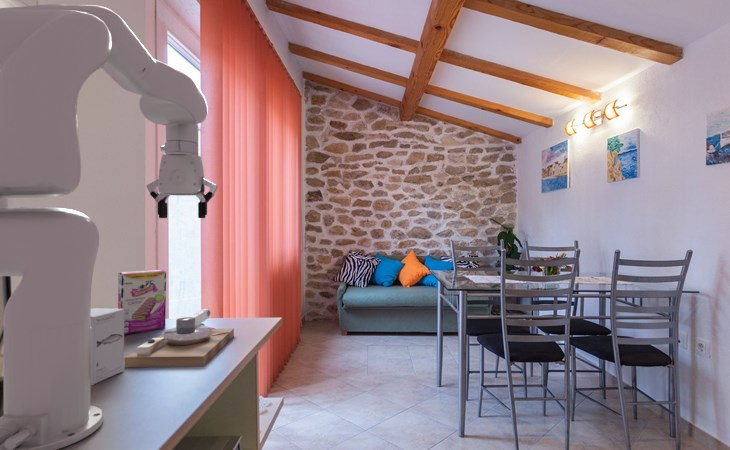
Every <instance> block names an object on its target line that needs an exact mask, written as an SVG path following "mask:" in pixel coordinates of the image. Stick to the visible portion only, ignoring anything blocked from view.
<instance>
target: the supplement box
mask: <svg viewBox="0 0 730 450" xmlns="http://www.w3.org/2000/svg"><path fill="white" fill-rule="evenodd" d="M90 318H91V386H94V385H95V384H98V383H100V382H102V381H105V380H106V379H108V378H111V377H113V376H116V375H117V374H120V373H122V372H124V371H125V367H124V357H125V335H124V309H118V308H108V307H106V308H103V307H94V308H91V317H90Z"/></svg>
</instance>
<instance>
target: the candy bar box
mask: <svg viewBox="0 0 730 450" xmlns="http://www.w3.org/2000/svg"><path fill="white" fill-rule="evenodd" d="M117 276H118V278H117V281H118V283H117V309H124V336H125V335H130V334H136V333H143V332H145V333H146V332H150V331H156V330H163V329H166V313H167V311H166V306H167V305H166V304H167V301H166V300H167V299H166V298H167V296H166V294H167V271H166V270H163V269H153V270H150V269H149V270H138V271H136V270H135V271H121V272H118V275H117Z"/></svg>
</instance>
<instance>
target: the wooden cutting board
mask: <svg viewBox="0 0 730 450" xmlns="http://www.w3.org/2000/svg"><path fill="white" fill-rule="evenodd" d="M233 336H234V337H235V329H234V328H210V338H209V339H208V340H206V341H203V342H200V343H196V344H190V345H169V344H166V343H165V342H164V333H163V334H161V335H159V336H158V337H152V338H150V339H148V341H146V342H144V343H142V344H141V345H139V346H137V348H136V350H134V351H133V352H131V353H130V354H128V355H127V356H124V368H153V367H156V368H161V367H163V368H164V367H165V368H166V367H169V368H170V367H205V365H206V364H207V363H209V362H210V360H211V359H212V358H213V357H215V355H217V353H218V352H219V351H221V350H222V348H224V346H226V344H228V343H229V342H230V341H231V340H232V339H233V338H234V337H233Z"/></svg>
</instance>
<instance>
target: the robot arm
mask: <svg viewBox="0 0 730 450" xmlns="http://www.w3.org/2000/svg"><path fill="white" fill-rule="evenodd" d="M99 69H102V70H103V72H105V74H107V75H108V76H109V77H110V78H111V79H112V80H113V81H114V82H115V83H116V85H118V86H119V87H121V88H122V89H124V90H125V91H128V92H130V93H132V94H136V95H140V99H139V104H138V105H139V110H140V113H141V114H142V115H143V117H144V118H145V119H147V121H149V122H151V123H153V124H157V125H162V126H165V142H164V145H161V146H160V151H161V152H164V153H165V154H162V155H161V159H160V164H159V171H158V179H156V180H153V181H152V182H150V183H148V184H146V189H147V190H148V192H149V194H150V196H151V198H153V199H154V200H155V202H157V215H158V218H159V219H167V218H168V203H167V202H166V201H167V200H168V198H170V196H196V197H197V199H198V200H199V202H198V203H197V207H198V208H197V209H198V211H197V212H198V213H197V214H198V219H206V216H207V215H208V203H209V202H210V201H211V199H212V198H213V197H214V196H215V194H216V192H217V190H218V189H219V188H218V187H219V186H218V185H217V184H215V183H214V182H211V181H210V180H208V179H205V173H204V172H205V171H204V166H203V161H202V157H201V156H200V155H199V124H201V123H203V122H204V121H205V120H206V119H207V118H208V117H207V116H208V112H209V111H208V109H209V108H208V104H207V100H206V97H205V95H204V94H203V92H202V90H201V89H200V87H199V86H198V84H196V82H195V81H194V80H193V79H192V78H191V77H190V76H189V75H188V74H185V73H184V72H182V71H180V70H178V69H177V68H174V67H172V66H170V65H169V64H167V63H164V62H163V61H160V60H157V59H156V58H154V57H153V56H152V55H151V54H150V53H149V51H148V50H147V49H146V47H145V46H144V45H143V44H142V42H141V41H140V40H139V39H138V37H137V36H136V34H135V33H134V32H133V31H132V29H130V27H129V26H128V24H127V23H126V22H125V21H124V19H123V18H121V16H120V15H119V14H117V13H116V12H114V11H113V10H111V9H109V8H107V7H104V6H100V5H95V4H94V5H93V4H89V5H88V4H58V3H57V4H56V3H55V4H53V3H51V4H50V3H48V4H47V3H46V4H36V5H25V6H13V7H0V277H22V278H21V280H20V281H19V282H18V283H19V284H18V285H17V287H16V288H15V289H14V291H13V292H12V293H11V295H10V297H9V298H8V299H7V302H6V303H5V307H4V311H3V327H2V329H3V415H2V416H0V450H59V449H62V448H66V447H68V446H71V445H73V444H76V443H77V442H80V441H81V440H83V439H86V438H87V437H88V436H90V435H92V434H93V433H94V432H96V431H97V430H98V429H99V428H100V427H101V425H102V424H103V422H104V412H103V409H101V408H100V407H97V406H95V405H91V395H92V394H91V392H92V390H91V386H92V385H91V318H90V317H91V309H92V308H91V305H92V303H91V301H92V300H91V299H92V284H93V283H92V282H93V276H94V269H95V264H96V260H97V255H98V251H99V246H100V245H99V244H100V233H99V229H98V226H97V225H96V222H94V221H93V219H92V218H91V217H89V216H88V215H86V214H84V213H83V212H80V211H77V210H75V209H71V208H63V207H49V206H48V207H47V206H46V207H37V206H35V207H32V206H31V207H25V206H24V207H8V198H10V199H11V198H12V199H15V198H17V199H21V198H22V199H23V198H24V199H25V198H26V199H27V198H28V199H29V198H30V199H31V198H33V199H35V198H37V199H38V198H57V197H58V198H59V197H63V196H66V195H69V194H71V193H73V192H74V191H75V190H77V188H78V187H79V185H80V182H81V176H82V164H81V163H82V162H81V147H80V145H81V144H80V133H79V121H78V119H79V118H78V101H79V99H78V98H79V95H80V91H81V89H82V87H83V85H84V84H85V82H86V81H87V80H88V78H90V77H91V76H92V75H93V74H94V73H95V72H96V71H98V70H99ZM205 186H206V187H208V188H209V189H208V192H206V194H205V191H206V190H205V189H206V188H205ZM156 188H157V190H158V191H157V190H156ZM158 192H159V193H158Z"/></svg>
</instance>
